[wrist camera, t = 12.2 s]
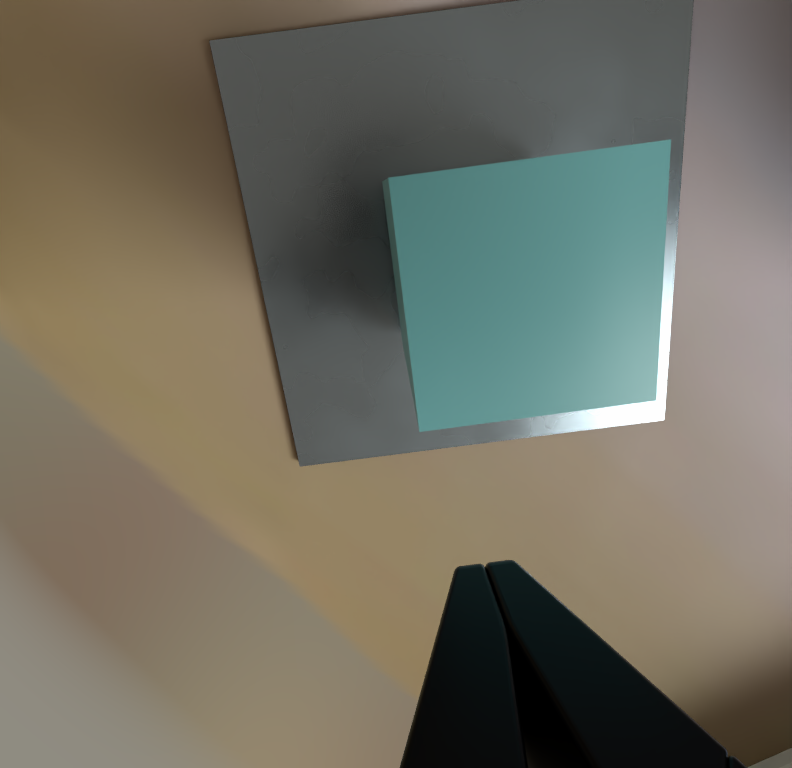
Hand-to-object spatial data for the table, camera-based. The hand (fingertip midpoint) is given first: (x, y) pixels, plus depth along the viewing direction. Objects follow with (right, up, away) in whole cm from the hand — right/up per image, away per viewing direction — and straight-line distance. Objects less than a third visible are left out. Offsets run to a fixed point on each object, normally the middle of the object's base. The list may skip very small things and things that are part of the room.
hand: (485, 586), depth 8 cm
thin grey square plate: (+1, +7, +10) cm, 13 cm away
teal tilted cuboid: (+1, +7, +9) cm, 12 cm away
